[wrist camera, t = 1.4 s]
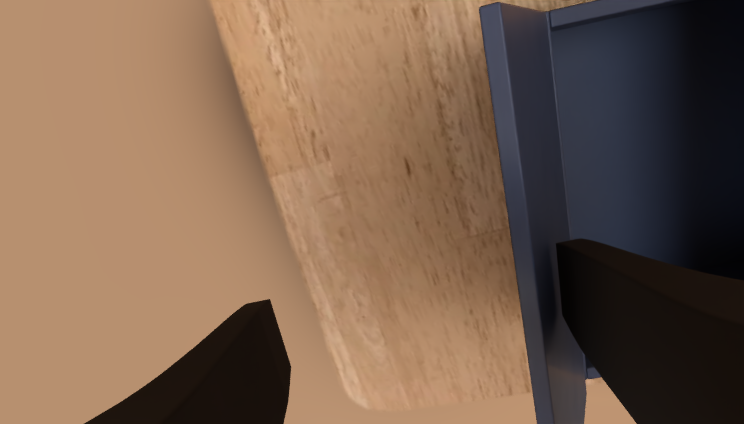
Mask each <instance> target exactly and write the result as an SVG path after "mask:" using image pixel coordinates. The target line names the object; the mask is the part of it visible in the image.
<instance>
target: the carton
mask: <svg viewBox="0 0 744 424" xmlns="http://www.w3.org/2000/svg"><path fill="white" fill-rule="evenodd" d="M546 17H547V26H548V36H549V45H550V54H551V64H552V73H553V83H554V92H555V101H556V111H557V120H558V130H559V139H560V148H561V158H562V167H563V177H564V186H565V195H566V205H567V214H568V224H569V233H570V240H574V239H579V238H583V239H588V240H592V241H596V242H600V243H603V244H607V245H610V246H613V247H616V248H619V249H623V250H626V251H629V252H632V253H635V254H639V255H642V256H645V257H648V258H652V259H655V260H658V261H662V262H665V263H669V264H673V265H676V266H680V267H684V268H688V269H692V270H696V271H700V272H704V273H708V274H713V275H717V276H722V277H728V278H733V279H738V280H744V0H595V1H591V2H586V3H582V4H577V5H573V6H568V7H564V8H559V9H555V10H550V11H546ZM582 355H583V365H584V374H585V380H586V379H587V378H588V379H593V378H599V377H601V376H600V374H599V373H598V372H597V370H596V369H595V368H594V366H593V365H592V364H591V362H590V361H589V360H588V358H587V357H586V356H585V354H584V353H583V351H582Z"/></svg>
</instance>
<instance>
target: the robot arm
mask: <svg viewBox="0 0 744 424" xmlns="http://www.w3.org/2000/svg"><path fill="white" fill-rule="evenodd" d="M556 251H557V262H558V274H559V285H560V296H561V308H562V316H563V318H564V320H565V322H566V323H567V325H568V327H569V329H570V331H571V333H572V335H573V336H574V338H575V340H576V342H577V343H578V345H579V347H580V349H581V350H582V351H583V353H584V354H585V356H586V357H587V358H588V360H589V361H590V362H591V364H592V365H593V366H594V368H595V369H596V370H597V372H598V373H599V374H600V376H601V377H602V378H603V380H604V381H605V382H606V384H607V385H608V386H609V388H610V389H611V390H612V391H613V393H614V394H615V395H616V397H617V398H618V399H619V401H620V402H621V403H622V405H623V406H624V407H625V409H626V410H627V411H628V412H629V414H630V415H631V417H632V418H633V419H634V421H635V422H636V423H637V424H744V280H738V279H733V278H728V277H722V276H717V275H713V274H708V273H704V272H700V271H696V270H692V269H688V268H684V267H680V266H676V265H673V264H669V263H665V262H662V261H658V260H655V259H652V258H648V257H645V256H642V255H639V254H635V253H632V252H629V251H626V250H623V249H619V248H616V247H613V246H610V245H607V244H603V243H600V242H596V241H592V240H588V239H583V238H579V239H574V240H569V241H564V242H559V243H556ZM290 373H291V366H290V362H289V359H288V356H287V352H286V349H285V346H284V343H283V340H282V336H281V333H280V330H279V327H278V324H277V320H276V317H275V314H274V311H273V308H272V304H271V301H270V299H269V300H263V301H259V302H253V303H248V304H245V305H244V306H243V307H241V308H240V309H239V310H237V311H236V312H235V313H233V314H232V315H231V316H230V317H229V318H227V320H225V321H224V322H223V323H222V324H221V325H220V326H218V327H217V328H216V329H215V330H214V331H213V332H211V333H210V334H209V335H208V336H207V337H206V338H205V339H203V340H202V341H201V342H200V343H199V344H198V345H196V346H195V347H194V348H193V349H192V350H190V351H189V352H188V353H187V354H185V355H184V356H183V357H182V358H181V359H179V360H178V361H177V362H176V363H174V364H173V365H172V366H171V367H169V368H168V369H167V370H166V371H164V372H163V373H162V374H160V375H159V376H158V377H157V378H155V379H154V380H152V381H151V382H150V383H148V384H147V385H146V386H144V387H143V388H141V389H139V390H138V391H137V392H135V393H134V394H132V395H131V396H129V397H128V398H126V399H125V400H123V401H122V402H120V403H118V404H117V405H115V406H113V407H112V408H110V409H108V410H107V411H105V412H103V413H102V414H100V415H98V416H97V417H95V418H93V419H91V420H90V421H88V422H86V423H85V424H283V423H284V418H285V413H286V409H287V405H288V397H289V386H290Z"/></svg>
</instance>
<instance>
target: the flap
mask: <svg viewBox="0 0 744 424" xmlns="http://www.w3.org/2000/svg"><path fill="white" fill-rule="evenodd" d="M479 14H480V21H481V28H482V35H483V43H484V50H485V57H486V64H487V71H488V78H489V85H490V92H491V100H492V107H493V114H494V121H495V128H496V135H497V142H498V149H499V156H500V164H501V171H502V178H503V185H504V192H505V199H506V206H507V213H508V220H509V228H510V235H511V242H512V249H513V256H514V263H515V270H516V277H517V285H518V292H519V299H520V306H521V313H522V320H523V327H524V334H525V341H526V349H527V356H528V363H529V370H530V377H531V384H532V391H533V398H534V405H535V412H536V420H537V424H584V417H585V405H586V383H585V374H584V365H583V355H582V350H581V349H580V347H579V345H578V343H577V342H576V340H575V338H574V336H573V335H572V333H571V331H570V329H569V327H568V325H567V323H566V322H565V320H564V318H563V316H562V308H561V296H560V285H559V274H558V262H557V251H556V243H559V242H564V241H569V240H570V233H569V224H568V214H567V205H566V195H565V186H564V177H563V167H562V158H561V148H560V139H559V130H558V120H557V111H556V101H555V92H554V83H553V73H552V64H551V54H550V45H549V36H548V26H547V17H546V12H543V11H538V10H534V9H529V8H524V7H520V6H515V5H511V4H506V3H501V2H496V3H492V4H488V5H485V6H481V7H480V8H479Z"/></svg>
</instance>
